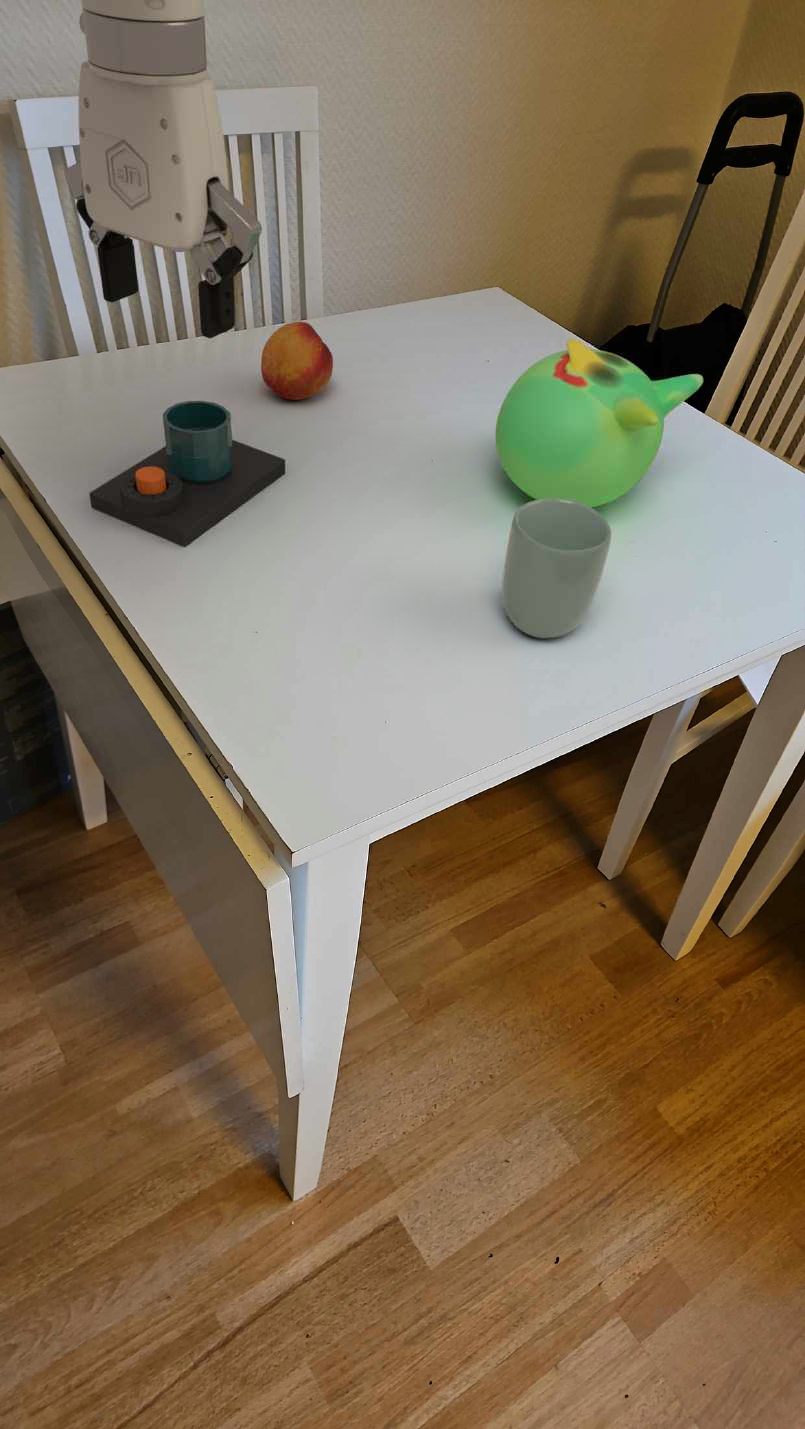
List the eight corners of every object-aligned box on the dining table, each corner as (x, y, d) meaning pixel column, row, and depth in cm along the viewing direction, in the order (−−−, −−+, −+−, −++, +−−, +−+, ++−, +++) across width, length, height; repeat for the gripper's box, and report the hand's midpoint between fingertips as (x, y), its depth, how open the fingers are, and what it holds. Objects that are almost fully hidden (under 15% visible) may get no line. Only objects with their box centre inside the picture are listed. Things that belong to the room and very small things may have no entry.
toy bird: (529, 433, 107) (554, 300, 96) (674, 480, 102) (716, 345, 92) (459, 505, 95) (479, 362, 85) (619, 562, 90) (661, 417, 80)
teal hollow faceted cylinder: (170, 487, 90) (164, 433, 86) (166, 453, 95) (161, 401, 91) (236, 484, 92) (233, 431, 88) (230, 451, 96) (227, 399, 92)
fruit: (336, 412, 107) (338, 341, 101) (263, 412, 106) (261, 340, 100) (329, 380, 112) (331, 311, 107) (260, 379, 111) (258, 310, 105)
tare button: (153, 499, 86) (151, 484, 85) (131, 490, 87) (129, 475, 86) (172, 487, 88) (170, 472, 87) (150, 478, 89) (148, 463, 88)
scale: (183, 548, 86) (180, 518, 84) (89, 508, 90) (84, 478, 87) (285, 473, 97) (285, 444, 94) (198, 440, 100) (196, 411, 98)
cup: (553, 587, 86) (576, 490, 79) (602, 639, 82) (631, 540, 75) (479, 605, 84) (496, 506, 77) (525, 660, 79) (547, 560, 72)
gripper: (5, 28, 62) (50, 297, 74) (213, 80, 56) (225, 363, 68) (90, 18, 67) (119, 272, 79) (290, 65, 61) (289, 332, 73)
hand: (168, 314), depth 73 cm, fingers open, 9 cm apart
